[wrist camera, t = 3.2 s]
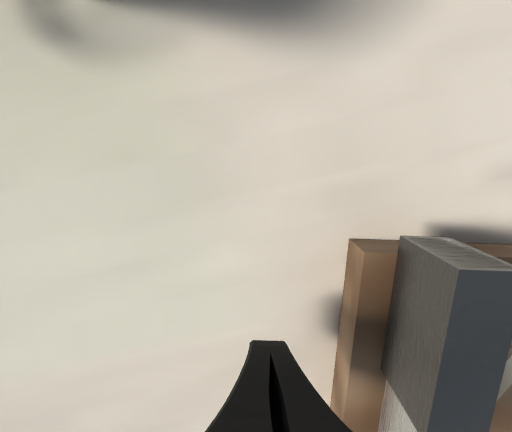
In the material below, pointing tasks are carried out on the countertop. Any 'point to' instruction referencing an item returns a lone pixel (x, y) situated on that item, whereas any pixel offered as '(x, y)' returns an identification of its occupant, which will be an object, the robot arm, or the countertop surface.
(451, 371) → the lever
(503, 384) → the base
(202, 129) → the countertop surface
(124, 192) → the countertop surface
